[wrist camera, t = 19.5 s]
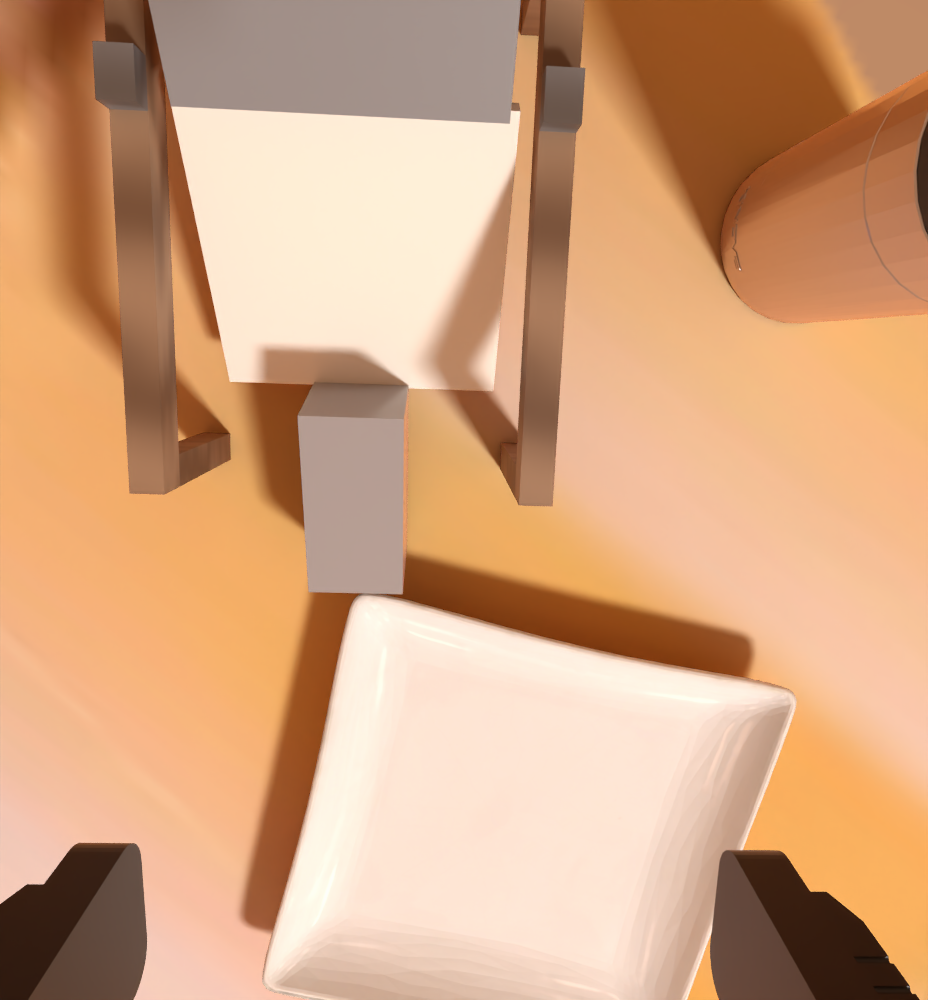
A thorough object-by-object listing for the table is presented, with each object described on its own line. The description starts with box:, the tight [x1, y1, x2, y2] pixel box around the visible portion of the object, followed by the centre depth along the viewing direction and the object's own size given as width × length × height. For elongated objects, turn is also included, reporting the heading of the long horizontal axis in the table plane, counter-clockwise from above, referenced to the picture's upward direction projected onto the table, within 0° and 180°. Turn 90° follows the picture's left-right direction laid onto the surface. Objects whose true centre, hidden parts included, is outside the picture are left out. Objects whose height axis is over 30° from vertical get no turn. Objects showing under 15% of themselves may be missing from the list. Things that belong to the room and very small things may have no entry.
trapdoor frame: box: [92, 0, 585, 506], centre depth 35 cm, size 24×19×12 cm
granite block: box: [298, 382, 409, 594], centre depth 39 cm, size 5×5×10 cm
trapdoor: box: [148, 0, 521, 391], centre depth 33 cm, size 20×14×4 cm
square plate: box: [262, 593, 796, 1000], centre depth 46 cm, size 27×27×4 cm
